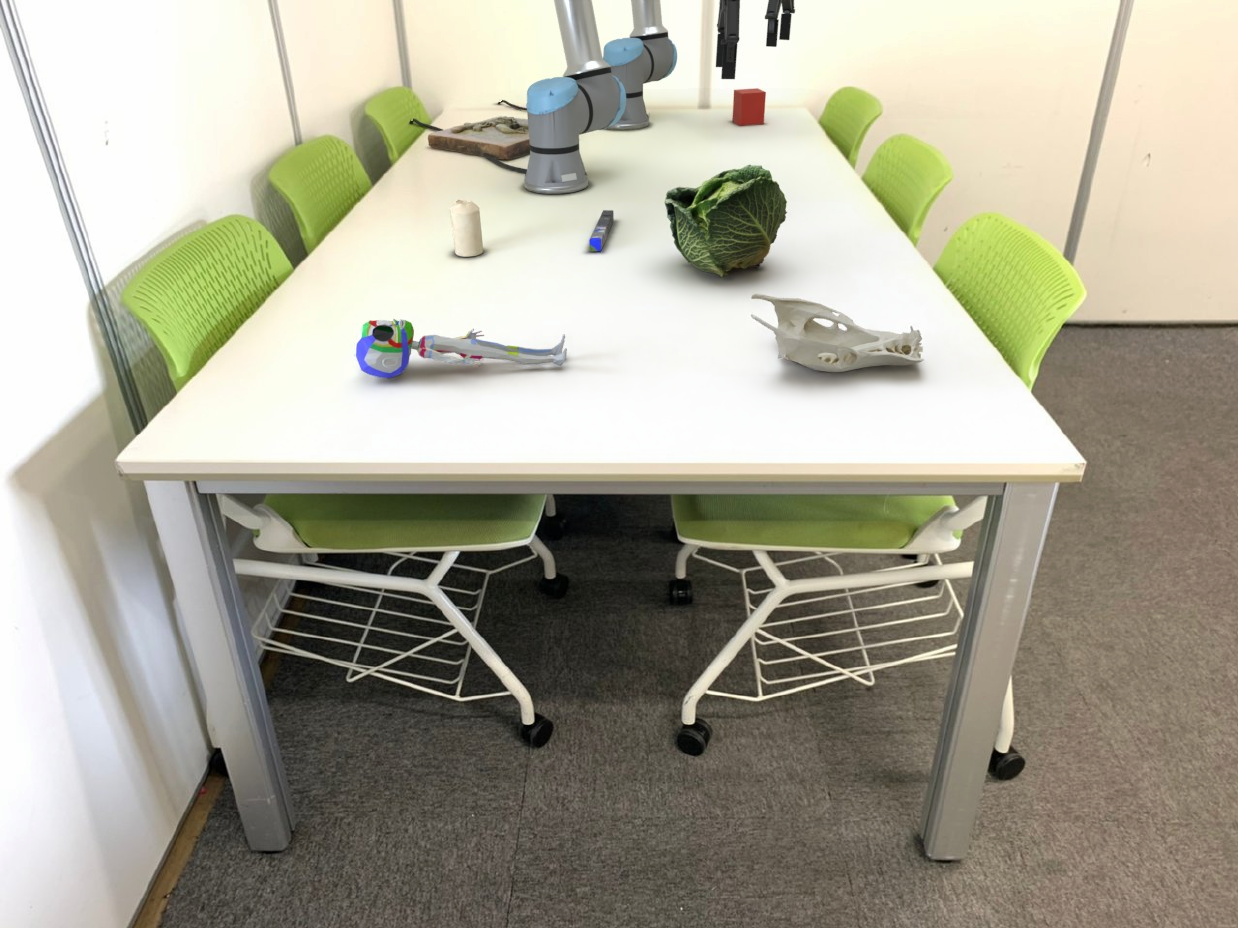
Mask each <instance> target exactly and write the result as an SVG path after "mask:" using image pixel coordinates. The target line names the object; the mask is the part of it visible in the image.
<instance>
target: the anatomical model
mask: <svg viewBox="0 0 1238 928" xmlns="http://www.w3.org/2000/svg"><path fill="white" fill-rule="evenodd" d="M750 298H751V300H762V301H766V302H770V303H771V305H773V307H774V313H775V314H776V318H777V327H776V326H774V325H772V324H770V323H768V322H767V321H765V320H763V319H762V318H761V317H758V316H757V315H755V314H753V313H751V314H750V317H751V319H753V320H755V321H756V322H758V323H760V324H761V325H762V326H764V327H766V328H767V329H769V330H770V331H772V332H773V334H774V336H775V337H774V338H775V341H776V344H777V351H778V353H777V358H778V359H782V360H788V361H792V362H794V363H798V364H800V365H802V366H803V367H805V368H808V369H811V370H812V371H821V372H828V373H844V372H849V371H853V370H857V369H862V368H868V367H877V366H878V367H880V366H912V365H915V364H919V363H922V362H924V361H925V359H924V358H921V357H922V356H921V353H923V351H924V346H921V345H922V343H921V341H922V340H923V337H922V334H921V331H920V330H919V329H916V330H914V327H913V325H910V327H909V329H910V332H902V333H896V332H893V331H884V330H876V329H870V328H864V327H862V326H860V325H858V324H855V322H854V320H853V319H852V318H850V317H849V316H848V315H846V314H844V313H843V312H841V311H838V310H836V309H833V308H831V307H829V306H826V305H824V304H822V303H820V302H819V303H818V302H816V301H815V302H814V301H811V300H806V299H802V298H799V297H777V296H771V295H766V294H761V293H753V294H752V295H751V297H750ZM836 314H838V315H836ZM815 319H819V320H820V319H821V320H822V319H823V320H826V321H830V322H831V323H832V325H830V326H825V325H823V324H820V323H819V322H817V321H815ZM839 325H843V326H844V327H845V328H846V330H844V329H842V328H840V327H839Z"/></svg>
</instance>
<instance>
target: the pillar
mask: <svg viewBox="0 0 1238 928" xmlns="http://www.w3.org/2000/svg"><path fill="white" fill-rule="evenodd" d="M614 216H615V215H614V210H613V209H612V210H611V209H602V212H601V214H600V216H599V219H598V221H597V222H596V225H595V227H594V229H593V231H592V234H591V236H590V237H589V241H588V243H589V244H588V245H589V246H588V247H589V248H588V250H589V252H601V251H602V249H603V247H604V245H605V242H606V239H607V237H608V235H609V232H610V231H611V228H612V226H613V223H614Z"/></svg>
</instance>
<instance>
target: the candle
mask: <svg viewBox="0 0 1238 928" xmlns="http://www.w3.org/2000/svg"><path fill="white" fill-rule="evenodd" d="M449 212H450V213H449V214H450V222H451V228H452V231H451V232H452V239H453V247H454V253H455V255H457V256H459V257H465V258H466V257H467V258H468V257H475V256H479V255H481V254H483V252H484V242H483V234H482V233H483V232H482V231H483V230H482V222H481V221H482V220H481V212H480V207H479V205H478V204H476V203H475V202H474V201H472V200H470V201H468V200H465V199H464V200H462V199H457V200H456V201H455V202H454V203H453V205H452V206H451V207H450V209H449Z"/></svg>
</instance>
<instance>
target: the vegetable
mask: <svg viewBox="0 0 1238 928" xmlns="http://www.w3.org/2000/svg"><path fill="white" fill-rule="evenodd" d="M665 196H666V197H665V199H664V205H665V208H666V209H665V210H666V218H667V219H668V221H669V222H670V224H669V228H670V231H671V236H672V238H673V239H674V240H673V243H674V245H675V247H676V249H677V250H678V252H680V255H681V256H682V257H683V258H684V259H685V261H686V262H687V263H688V264H689V263H691V264H692V265H693V266H694V267H695V268H696V269H699V270H700V271H702V272H704V273H708V274H714V275H715V274H716V275H718V276H719V277H721V278H723V277H724V276H730V274H729V273H728V272H729V271H732V270H734V269H740V268H742V269H747V268H748V267H754V268H756V267H757V268H760V266H761V264H763V263H764V261H765V258H766V257H767V256H768V255H769V253H770V250H771V245H772V244H774V243H775V241H776V239H777V236H778V235H777V234H778V231H779V229H780V227H781V225H782V224H783V223H784V222H786V218H787V216H786V214H787V213H788V211H787V203H788V201H787V199H786V196H785V194H784V192H783V191H782V189H781V188H780V184H779V183H778V181H777V180H774V179H773V176H772V173H771V171H770V170H768V169H765V168H763V165H755V164H754V165H751V164H748V165H745V166H743V167H742V168H732V169H729V170H723V171H721V172H720V173H718V174H716V175H714V176H713V177H711V178H709V179H707V180H704V181H703V182H702V184H701V185H700V186H698V187H684V186H677V187H674V188H672V189H670V190H668V191H667V192H666V194H665Z"/></svg>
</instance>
